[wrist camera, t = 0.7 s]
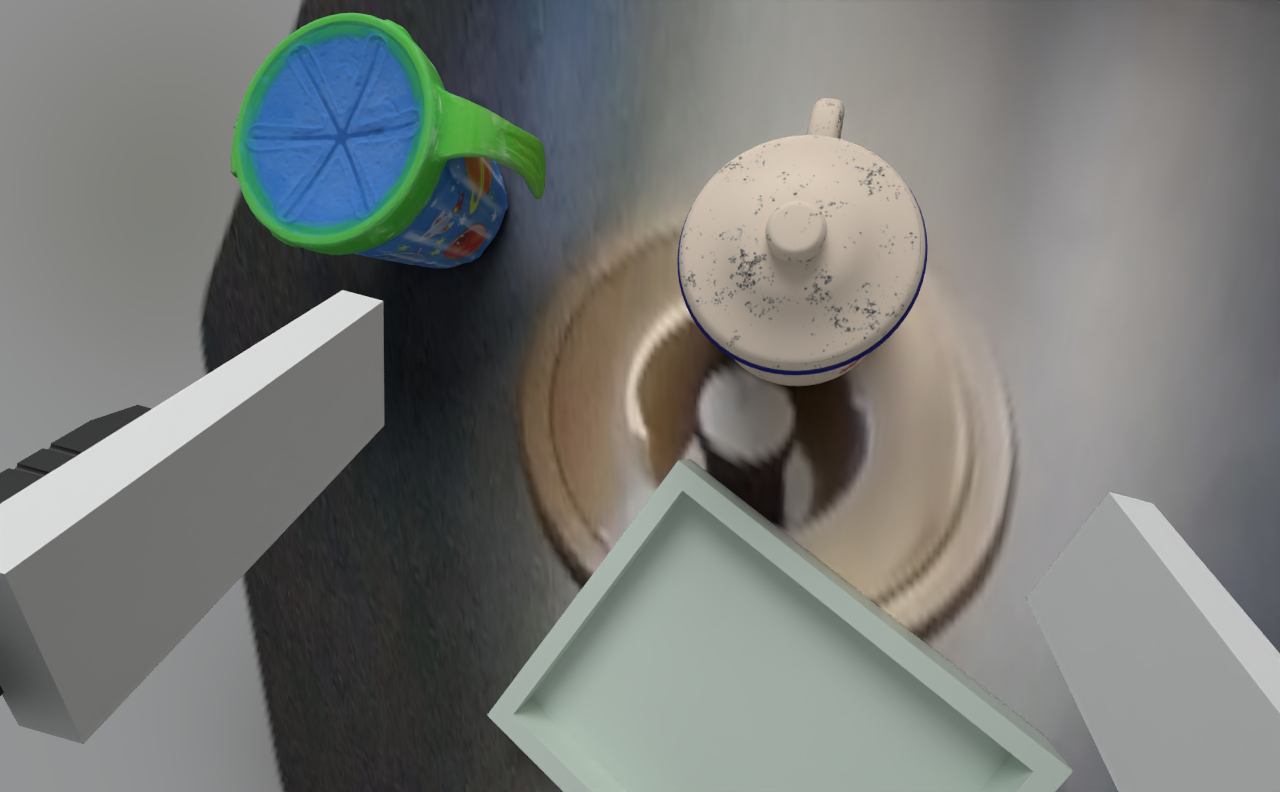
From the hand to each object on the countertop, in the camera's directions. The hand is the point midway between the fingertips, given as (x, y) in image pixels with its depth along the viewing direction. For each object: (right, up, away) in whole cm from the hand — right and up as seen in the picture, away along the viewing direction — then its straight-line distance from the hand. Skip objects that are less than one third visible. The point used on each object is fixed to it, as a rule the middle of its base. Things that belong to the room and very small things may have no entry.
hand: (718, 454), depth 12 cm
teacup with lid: (+7, +7, +20) cm, 23 cm away
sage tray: (+4, -15, +19) cm, 25 cm away
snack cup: (-12, +12, +26) cm, 31 cm away
